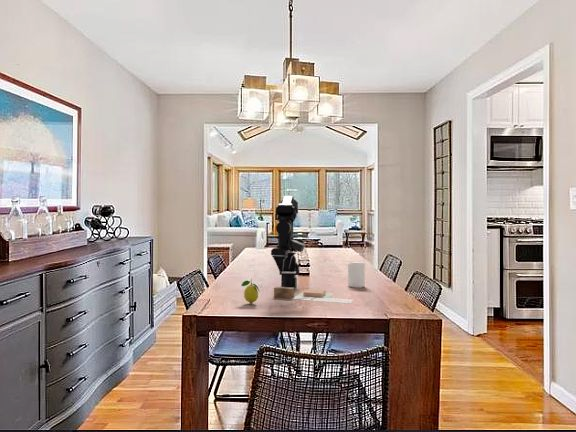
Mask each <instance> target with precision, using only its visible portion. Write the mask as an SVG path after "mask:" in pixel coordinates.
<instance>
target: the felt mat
mask: <svg viewBox="0 0 576 432" xmlns="http://www.w3.org/2000/svg"><path fill="white" fill-rule="evenodd" d="M305 291H306V290H304V291H301V292H300V293H299V294H297V295H296V296H302V297H312V296H303V292H305ZM334 294H335V293H333V292H326V294H325V295H324V296H322V297H323V298H331V296H333V295H334ZM322 297H321V298H322Z"/></svg>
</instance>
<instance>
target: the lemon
mask: <svg viewBox="0 0 576 432" xmlns="http://www.w3.org/2000/svg"><path fill="white" fill-rule="evenodd" d="M241 287H246V288H245V289H244V292H243V295H244V296H243V297H244V300H245V301H246V302H248V303H249V304H250V305H252V304H253V303H255V302H257V300H258V298H259V292H261V291H260V288H259V287H258V285H257V284H256V283H253V282H252V278H251V279H250V280H244V281H243V282H242V283H241Z"/></svg>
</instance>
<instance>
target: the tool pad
mask: <svg viewBox="0 0 576 432" xmlns="http://www.w3.org/2000/svg"><path fill="white" fill-rule="evenodd" d="M311 300H312V302H313V301H314V302H327V303H340V304H341V303H342V304H352V303H353V302H354V300H355V299H350V298H348V299H347V298H337V297H335V298H333V297H329V298H323V297H322V298H321V297H314V298H313V299H311Z"/></svg>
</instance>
